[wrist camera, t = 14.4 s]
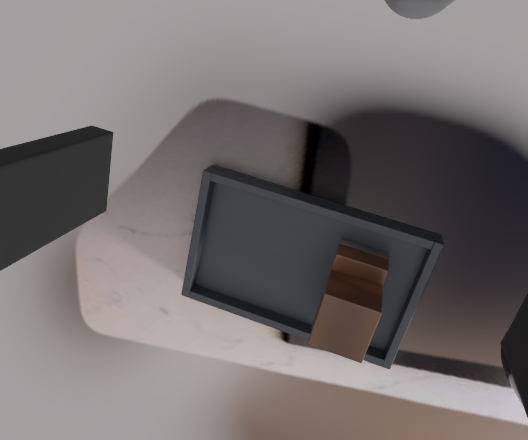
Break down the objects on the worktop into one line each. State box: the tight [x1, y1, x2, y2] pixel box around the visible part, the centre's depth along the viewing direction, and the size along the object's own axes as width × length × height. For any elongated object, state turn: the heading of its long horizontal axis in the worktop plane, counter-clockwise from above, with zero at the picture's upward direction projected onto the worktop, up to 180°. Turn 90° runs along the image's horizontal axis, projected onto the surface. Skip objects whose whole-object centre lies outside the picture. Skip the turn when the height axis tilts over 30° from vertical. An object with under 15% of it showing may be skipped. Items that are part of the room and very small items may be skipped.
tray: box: [182, 165, 444, 369], centre depth 43 cm, size 22×14×2 cm, turn 77°
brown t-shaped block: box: [308, 238, 389, 363], centre depth 39 cm, size 4×8×8 cm, turn 167°
